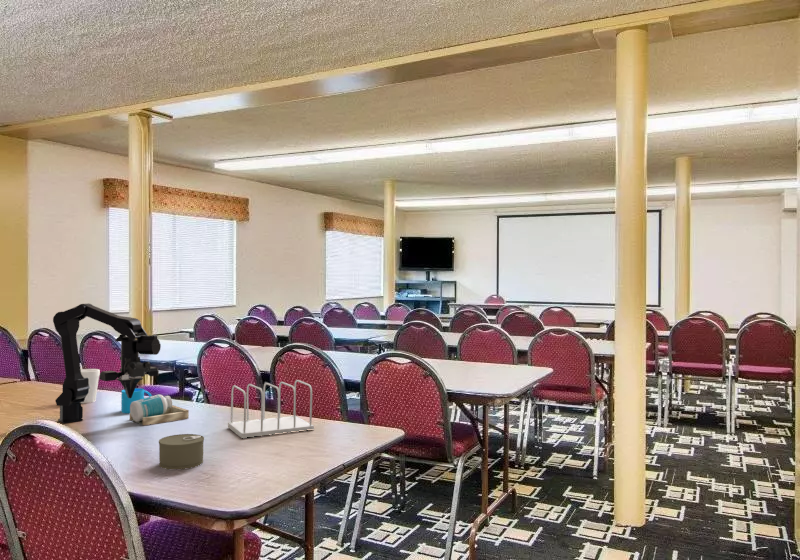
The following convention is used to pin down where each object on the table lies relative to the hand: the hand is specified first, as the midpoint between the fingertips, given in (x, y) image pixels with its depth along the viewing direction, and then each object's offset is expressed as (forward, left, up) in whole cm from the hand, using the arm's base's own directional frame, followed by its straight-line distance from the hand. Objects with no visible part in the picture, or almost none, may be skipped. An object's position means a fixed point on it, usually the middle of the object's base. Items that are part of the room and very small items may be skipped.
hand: (129, 398), depth 223 cm
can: (-9, -58, -9) cm, 59 cm away
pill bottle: (+1, 0, -5) cm, 5 cm away
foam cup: (+4, +52, -9) cm, 53 cm away
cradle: (+10, 0, -9) cm, 14 cm away
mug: (+12, +21, -9) cm, 26 cm away
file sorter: (+32, -41, -10) cm, 53 cm away
